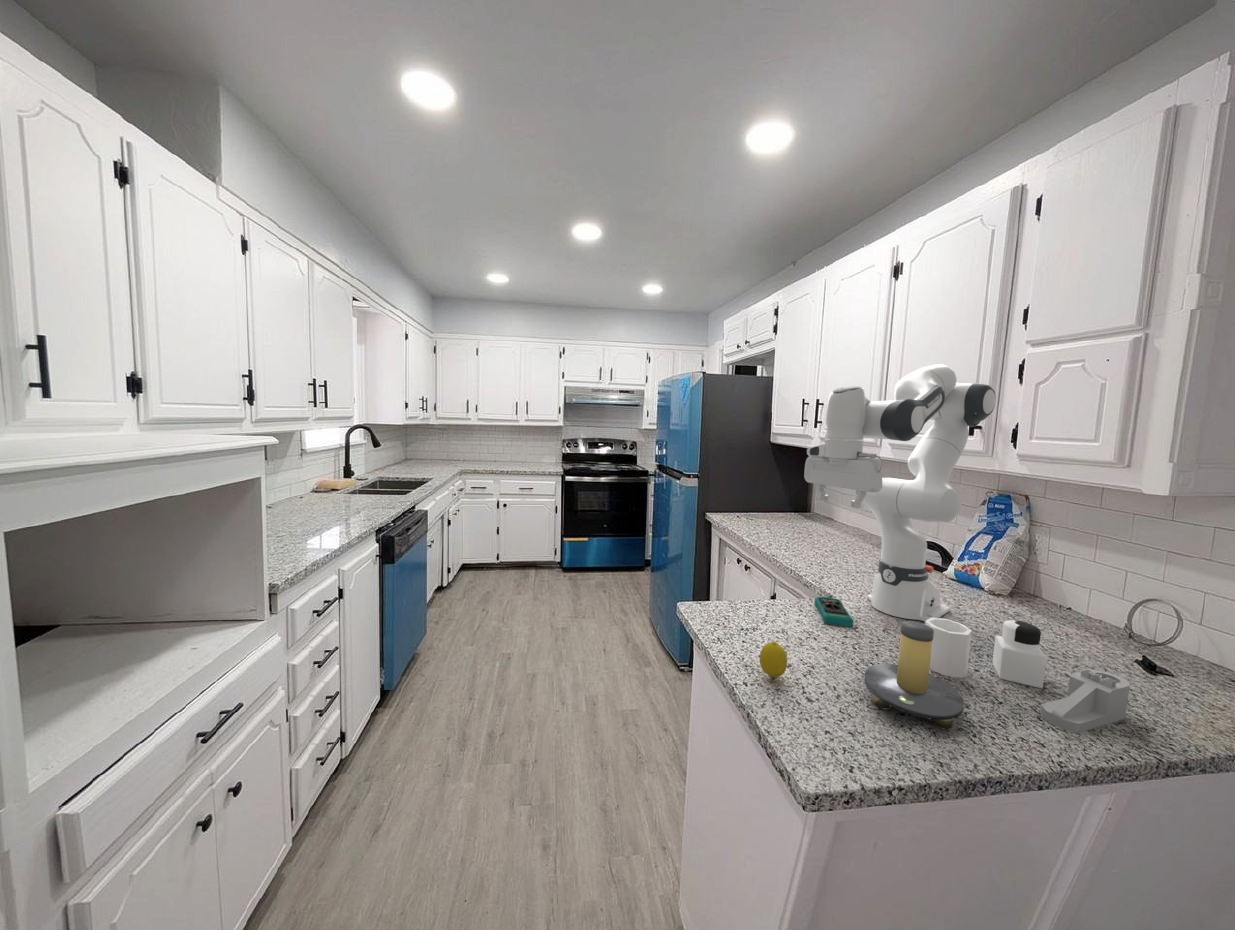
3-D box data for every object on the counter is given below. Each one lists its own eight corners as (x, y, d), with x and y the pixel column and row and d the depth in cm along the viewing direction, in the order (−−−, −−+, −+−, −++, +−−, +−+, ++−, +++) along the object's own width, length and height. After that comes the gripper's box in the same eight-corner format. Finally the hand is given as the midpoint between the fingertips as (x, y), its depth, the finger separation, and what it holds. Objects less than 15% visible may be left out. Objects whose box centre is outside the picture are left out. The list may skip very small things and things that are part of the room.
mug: (941, 655, 105) (945, 616, 104) (977, 676, 97) (982, 633, 96) (899, 660, 103) (903, 619, 102) (932, 681, 94) (937, 637, 93)
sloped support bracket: (1034, 715, 84) (1039, 676, 83) (1092, 699, 90) (1097, 662, 89) (1073, 736, 79) (1078, 693, 78) (1132, 717, 84) (1137, 677, 83)
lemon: (754, 677, 94) (756, 641, 94) (766, 667, 98) (768, 633, 97) (778, 688, 90) (781, 651, 90) (790, 678, 94) (792, 642, 93)
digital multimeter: (839, 607, 133) (840, 597, 133) (853, 629, 119) (854, 618, 119) (813, 604, 135) (814, 594, 135) (824, 625, 121) (824, 615, 120)
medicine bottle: (1032, 673, 98) (1039, 622, 97) (1043, 689, 92) (1050, 634, 91) (991, 663, 102) (997, 614, 101) (999, 678, 96) (1005, 626, 95)
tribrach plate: (895, 675, 96) (896, 656, 96) (980, 720, 82) (982, 698, 82) (845, 692, 90) (847, 672, 89) (929, 745, 75) (931, 721, 75)
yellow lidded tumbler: (906, 676, 89) (911, 619, 88) (933, 690, 84) (939, 630, 83) (890, 682, 87) (895, 623, 85) (917, 697, 82) (923, 635, 81)
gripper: (891, 453, 103) (886, 511, 105) (818, 448, 122) (815, 497, 123) (873, 454, 101) (868, 513, 102) (802, 448, 119) (798, 498, 120)
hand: (838, 504), depth 113 cm, fingers open, 8 cm apart
